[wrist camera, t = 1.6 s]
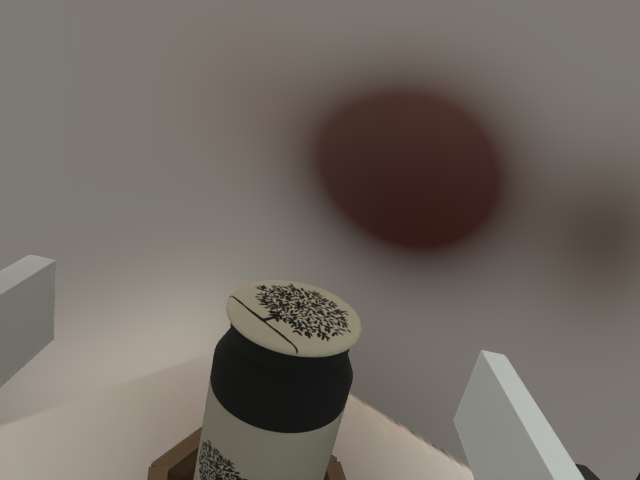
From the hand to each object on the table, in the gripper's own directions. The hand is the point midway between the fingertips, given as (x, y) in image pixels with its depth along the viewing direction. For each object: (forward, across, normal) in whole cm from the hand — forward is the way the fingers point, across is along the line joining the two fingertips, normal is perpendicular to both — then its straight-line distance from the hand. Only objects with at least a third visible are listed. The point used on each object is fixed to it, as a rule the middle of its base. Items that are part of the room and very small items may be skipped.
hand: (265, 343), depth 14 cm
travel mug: (+10, +1, -22) cm, 24 cm away
